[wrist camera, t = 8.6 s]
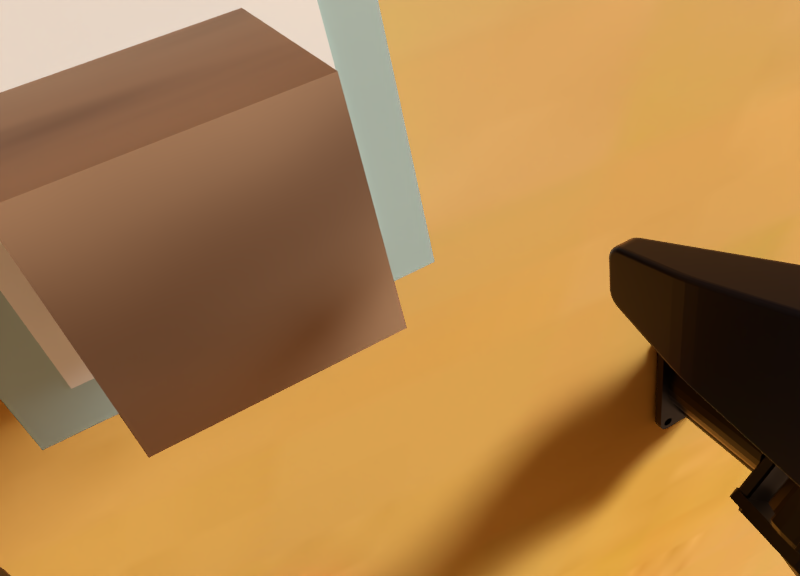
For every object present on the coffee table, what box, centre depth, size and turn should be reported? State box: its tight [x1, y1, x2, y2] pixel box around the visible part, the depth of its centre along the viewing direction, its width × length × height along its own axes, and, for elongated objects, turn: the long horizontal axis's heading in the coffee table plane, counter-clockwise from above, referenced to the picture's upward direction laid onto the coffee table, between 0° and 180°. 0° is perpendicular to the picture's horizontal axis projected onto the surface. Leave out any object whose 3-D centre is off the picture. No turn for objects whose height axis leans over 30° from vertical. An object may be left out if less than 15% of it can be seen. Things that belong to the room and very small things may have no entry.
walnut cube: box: [0, 8, 407, 457], centre depth 14 cm, size 6×6×6 cm
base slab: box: [0, 0, 434, 450], centre depth 17 cm, size 12×12×3 cm
